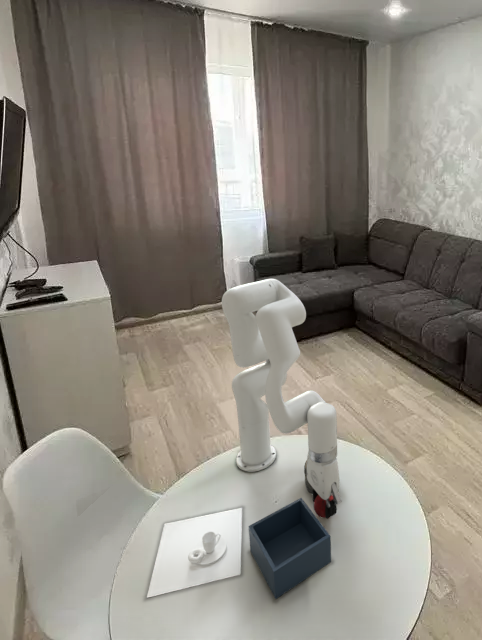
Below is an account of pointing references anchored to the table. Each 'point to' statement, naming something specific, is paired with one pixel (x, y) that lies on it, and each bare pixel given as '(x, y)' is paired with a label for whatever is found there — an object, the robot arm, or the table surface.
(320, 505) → the pomegranate
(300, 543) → the bin
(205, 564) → the teacup and saucer
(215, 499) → the table surface
